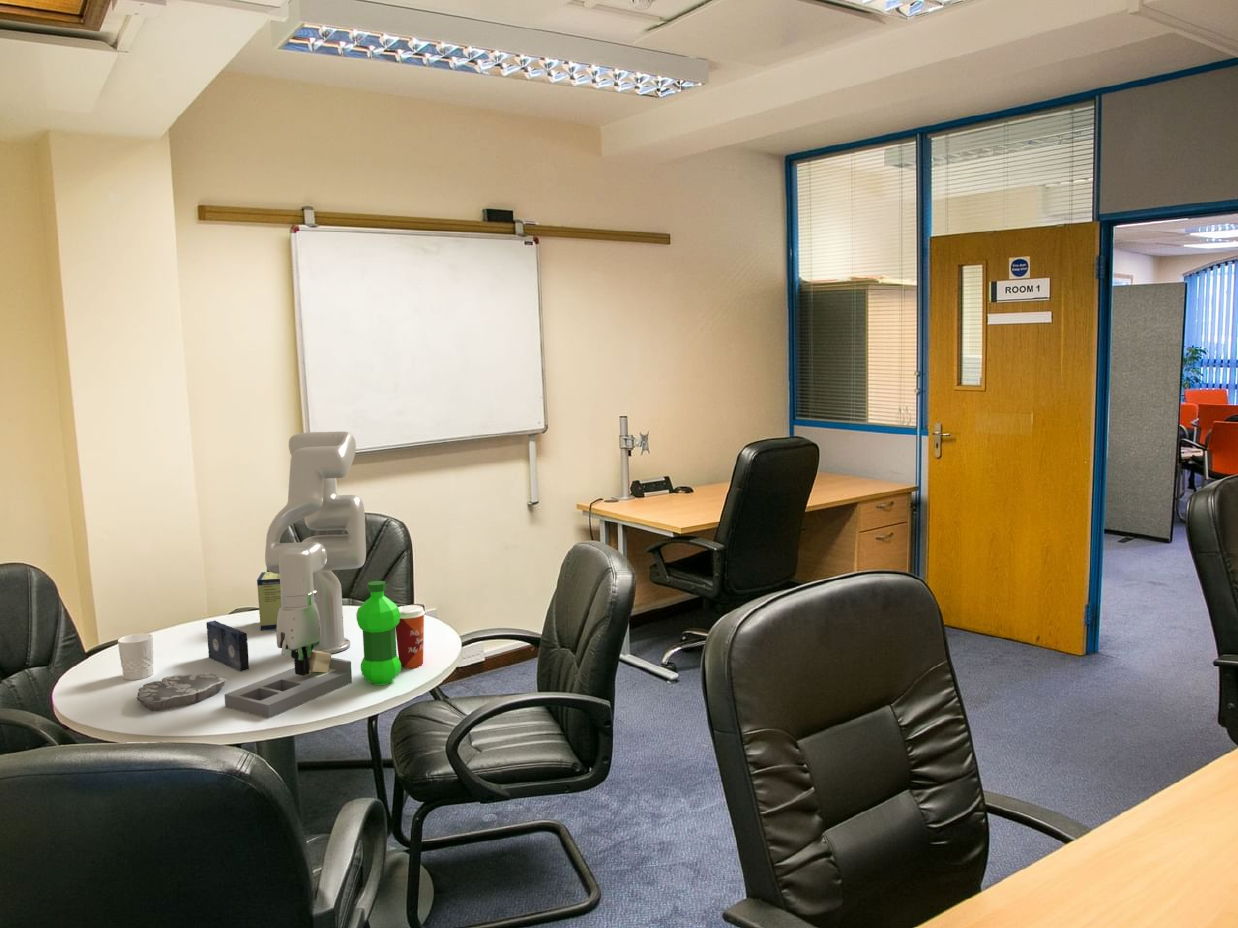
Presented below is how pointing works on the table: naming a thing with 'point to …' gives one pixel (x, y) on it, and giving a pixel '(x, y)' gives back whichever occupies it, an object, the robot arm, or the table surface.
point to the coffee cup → (410, 636)
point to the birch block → (319, 661)
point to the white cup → (136, 656)
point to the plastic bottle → (379, 636)
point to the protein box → (269, 599)
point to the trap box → (289, 689)
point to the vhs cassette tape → (227, 645)
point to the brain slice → (179, 690)
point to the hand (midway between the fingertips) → (302, 673)
